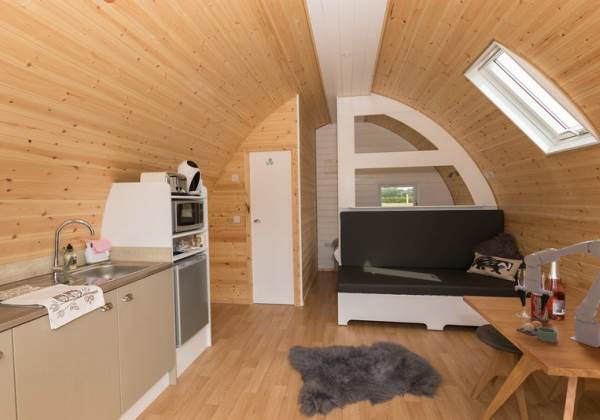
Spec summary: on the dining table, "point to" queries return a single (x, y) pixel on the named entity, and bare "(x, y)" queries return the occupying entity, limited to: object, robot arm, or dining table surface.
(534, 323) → the ball terracotta
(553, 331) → the teal tube
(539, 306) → the soda can
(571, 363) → the dining table surface
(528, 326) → the ball cream
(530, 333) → the slate tray
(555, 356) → the dining table surface
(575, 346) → the dining table surface
